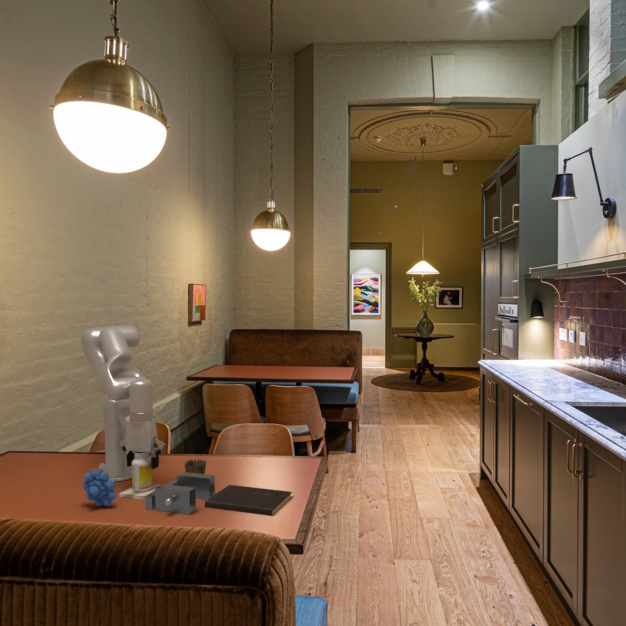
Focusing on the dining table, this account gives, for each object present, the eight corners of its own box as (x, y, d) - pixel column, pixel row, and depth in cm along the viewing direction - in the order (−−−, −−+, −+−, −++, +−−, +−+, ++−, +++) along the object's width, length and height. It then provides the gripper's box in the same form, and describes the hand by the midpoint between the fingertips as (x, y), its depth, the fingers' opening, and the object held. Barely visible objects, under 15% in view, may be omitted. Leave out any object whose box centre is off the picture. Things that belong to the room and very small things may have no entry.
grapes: (74, 510, 165) (73, 472, 165) (88, 502, 172) (87, 465, 172) (108, 513, 163) (107, 474, 163) (120, 504, 170) (119, 467, 169)
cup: (201, 488, 183) (200, 465, 183) (181, 487, 184) (180, 464, 184) (209, 481, 190) (209, 459, 190) (190, 480, 192) (190, 458, 191)
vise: (139, 512, 163) (139, 490, 163) (173, 491, 181) (173, 471, 180) (184, 518, 158) (183, 495, 158) (214, 496, 176) (214, 475, 176)
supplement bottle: (157, 486, 182) (156, 449, 182) (145, 493, 176) (144, 455, 175) (140, 484, 184) (139, 448, 184) (128, 491, 178) (127, 453, 178)
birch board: (119, 497, 176) (119, 493, 176) (139, 485, 187) (139, 482, 187) (147, 500, 173) (147, 496, 173) (166, 488, 183) (166, 485, 183)
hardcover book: (229, 491, 182) (229, 484, 181) (291, 498, 174) (291, 491, 174) (204, 509, 166) (204, 501, 166) (272, 518, 159) (271, 510, 159)
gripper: (112, 417, 178) (114, 468, 179) (156, 420, 173) (158, 472, 173) (127, 412, 185) (128, 461, 186) (170, 415, 180) (171, 465, 181)
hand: (142, 466), depth 180 cm, fingers open, 9 cm apart
